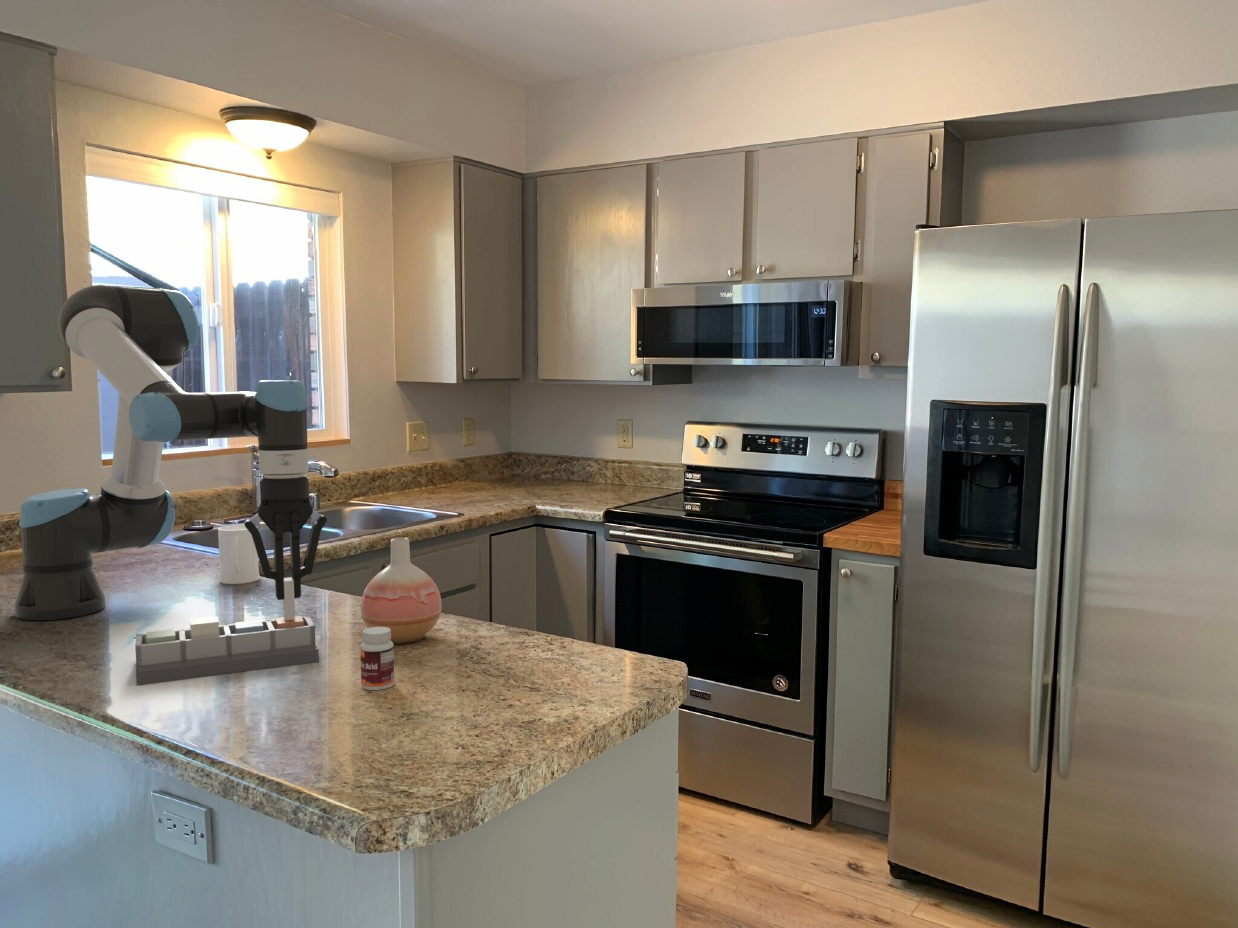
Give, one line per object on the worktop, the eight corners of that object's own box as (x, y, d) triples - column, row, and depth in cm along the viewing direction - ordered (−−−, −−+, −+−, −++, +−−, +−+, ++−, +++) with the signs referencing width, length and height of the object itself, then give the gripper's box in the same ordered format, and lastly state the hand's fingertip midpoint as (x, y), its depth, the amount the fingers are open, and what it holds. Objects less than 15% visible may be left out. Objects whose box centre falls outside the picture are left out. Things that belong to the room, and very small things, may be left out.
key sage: (147, 657, 143) (146, 638, 143) (147, 650, 147) (146, 632, 147) (176, 654, 145) (175, 635, 145) (175, 647, 149) (174, 628, 148)
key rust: (278, 641, 152) (277, 623, 151) (275, 635, 155) (275, 618, 155) (304, 638, 153) (303, 620, 153) (300, 632, 157) (300, 615, 157)
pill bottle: (354, 687, 137) (352, 631, 137) (378, 678, 141) (376, 624, 141) (377, 693, 135) (376, 636, 134) (401, 683, 139) (400, 628, 138)
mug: (253, 586, 204) (251, 532, 202) (212, 588, 202) (209, 533, 201) (263, 575, 215) (261, 523, 214) (223, 577, 213) (221, 525, 212)
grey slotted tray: (136, 685, 138) (134, 652, 138) (138, 659, 151) (136, 629, 150) (319, 661, 150) (318, 630, 149) (306, 639, 162) (305, 611, 162)
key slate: (236, 646, 149) (236, 628, 149) (235, 640, 152) (234, 622, 152) (263, 643, 151) (263, 625, 150) (261, 637, 154) (260, 619, 154)
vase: (414, 653, 154) (412, 548, 152) (345, 645, 159) (342, 543, 157) (456, 632, 167) (455, 534, 165) (391, 625, 171) (388, 530, 170)
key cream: (191, 643, 146) (190, 624, 146) (190, 637, 150) (190, 618, 149) (219, 640, 148) (218, 621, 147) (218, 634, 151) (217, 615, 151)
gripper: (242, 479, 146) (248, 628, 148) (329, 475, 151) (333, 618, 154) (239, 475, 152) (244, 617, 154) (322, 471, 158) (326, 608, 160)
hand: (289, 617), depth 154 cm, fingers closed
